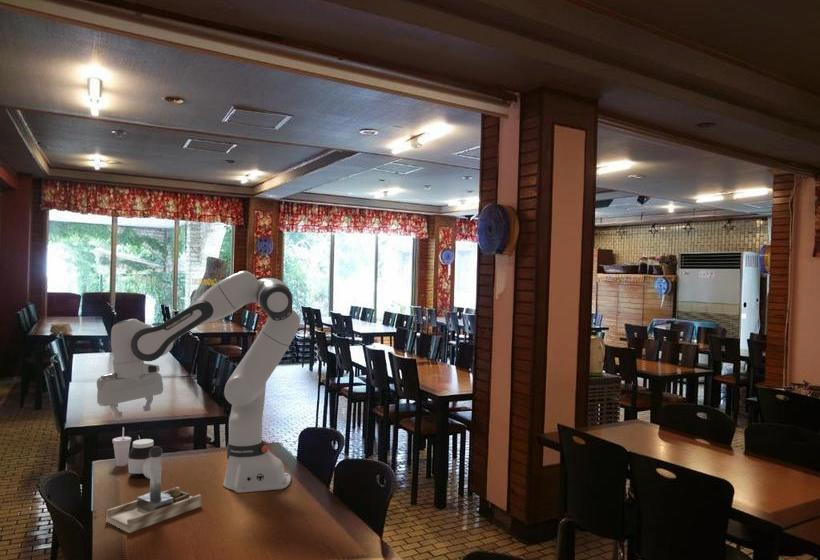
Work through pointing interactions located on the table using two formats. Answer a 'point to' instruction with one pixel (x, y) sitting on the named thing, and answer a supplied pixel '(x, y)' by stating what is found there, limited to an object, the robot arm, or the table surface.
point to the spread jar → (140, 458)
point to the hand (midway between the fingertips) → (133, 414)
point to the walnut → (174, 492)
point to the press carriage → (154, 485)
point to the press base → (138, 518)
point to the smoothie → (121, 449)
